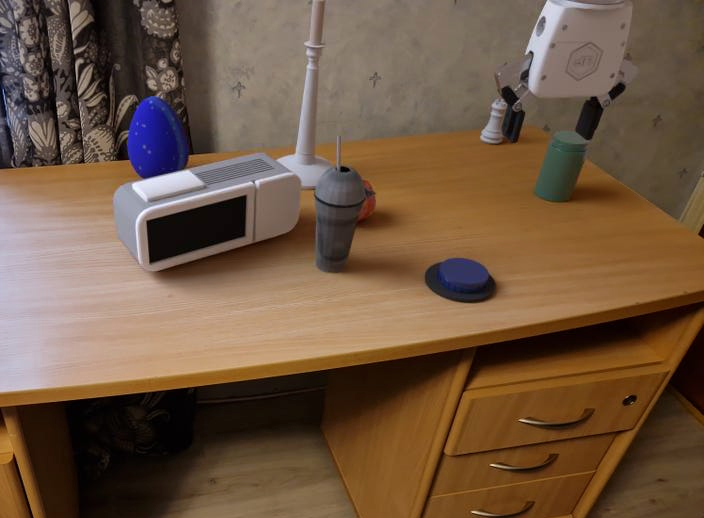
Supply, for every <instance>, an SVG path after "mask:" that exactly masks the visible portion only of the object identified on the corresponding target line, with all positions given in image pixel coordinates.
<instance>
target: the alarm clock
mask: <svg viewBox="0 0 704 518" xmlns="http://www.w3.org/2000/svg"><path fill="white" fill-rule="evenodd" d="M276 160H277V159H274V157H272V156H271V155H269V154H268V153H266V152H264V151H263V152H254V153H250V154H246V155H242V156H241V155H240V156H237V157H233V158H229V159H225V160H220V161H216V162H211V163H208V164H207V163H206V164H203V165H198V166H194V167H190V168H184V170H181V171H177V172H173V173H168V174H164V175H160V176H155V177H151V178H147V179H143V178H142V179H139V180H135V181H129V182H126V183H124V184H122V185H120V186H119V187H118V188H117V189H116V190H115V192H114V194H113V195H112V196H113V198H112V205H113V216H114V225H115V232H116V236H117V239H118V240H119V241H120V242H121V244H122V245H123V246H124V247H125V248H126V250H127V251H128V252H129V253H130V254H131V256H132V257H133V258H134V259H135V260H136V261H137V262H138V264H139V265H140V267H142V268H143V269H144V270H145V271H148V272H158V271H162V270H167V269H169V268H172V267H177V266H180V265H183V264H186V263H190V262H193V261H196V260H200V259H203V258H207V257H210V256H213V255H217V254H221V253H225V252H227V251H231V250H234V249H235V250H236V249H237V248H242V247H245V246H248V245H252V244H255V243H258V242H262V241H264V240H269V239H272V238H276V237H279V236H281V235H284V234H286V233H288V232H290V231H292V230H293V229H294V228H295V227H296V225H297V223H298V221H299V218H300V208H301V198H302V189H301V188H302V184H301V179H300V178H299V176H297V175H296V174H294V173H293V172H292V171H290V170H289V169H287V168H286V167H285V166H283V165H282V164H280V163H279V162H277V161H276Z"/></svg>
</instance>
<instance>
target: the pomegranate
mask: <svg viewBox="0 0 704 518" xmlns="http://www.w3.org/2000/svg"><path fill="white" fill-rule="evenodd" d="M363 182H364V186H365V198H366V199H365V201H364V203H363V206H362V209H361V211H360V213H359V217H358V221H357V222H360V221H362V220H365V219H367V218H369V217H370V216H371V215H372V214H373V212H374V211H375V210H376V207H377V198H376V195H378V193H377V192H376V191H374V189H373V186H372V185H371V183H370V182H369V180H367V179H363Z"/></svg>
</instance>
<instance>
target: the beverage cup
mask: <svg viewBox="0 0 704 518" xmlns="http://www.w3.org/2000/svg"><path fill="white" fill-rule="evenodd" d="M336 148H337V149H336V165H334V166H335V167H332V168H330V169H329V170H327V171H326V172H325V173H324V174H323V175H322V176H321V178H320V179H319V181H318V183H317V185H316V189H314V191H313V197H314V206H315V216H316V217H315V266H316V268H317V269H318V270H320V271H322V272H323V273H324V272H325V273H329V274H330V273H331V274H332V273H333V274H336V273H340V272H342V271H343V270H345V269H346V266H347V262H348V259H349V256H350V252H351V249H352V244H353V241H354V235H355V232H356V228H357V224H358V222H359V221H358V217H359V213H360V211H361V209H362V206H363V203H364V201H365V199H366V198H365V186H364V182H363V180H364V179H363V177H362V176H361V174H360V173H359V172H358V171H357V170H356V169H354V168H352V167H351V166H348V165H341V162H342V161H341V160H342V159H341V158H342V156H341V155H342V135H341V134H339V133H338V134H336Z"/></svg>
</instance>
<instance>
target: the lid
mask: <svg viewBox="0 0 704 518" xmlns="http://www.w3.org/2000/svg"><path fill="white" fill-rule="evenodd" d="M441 262H442V263H441V265H440V268H439V270H438V274H437V275H438V277H437V279H438V280H439V282H440V283H441V284H442V285H443V286H444V287H446V288H447V289H450V290H452V291H455V292H459V293H466V294H470V293H477V292H480V291H482V290H483V289H484V288H485V287H486V285H487V282H488V279H489V278H488V277H489V274H490V272H489V270H488V268H486V266H485V265H483V264H482V263H480V262H478V261H476V260H474V259H470V258H465V257H451V258H447V259H445V260H443V261H441Z"/></svg>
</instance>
